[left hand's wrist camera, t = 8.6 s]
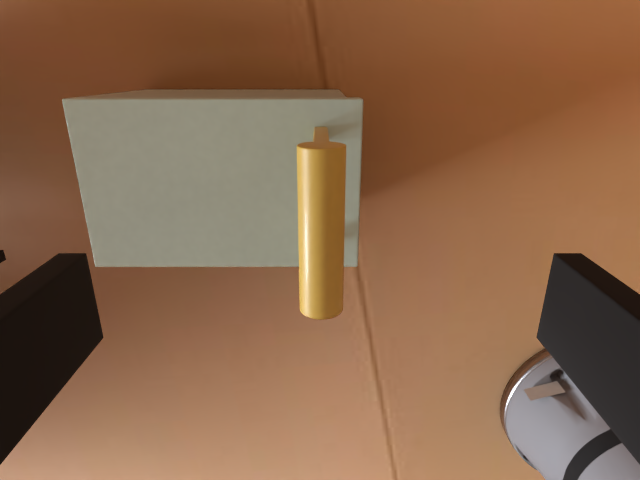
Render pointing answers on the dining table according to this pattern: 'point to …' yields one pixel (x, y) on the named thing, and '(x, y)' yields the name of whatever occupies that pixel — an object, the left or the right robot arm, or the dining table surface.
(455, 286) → the dining table surface
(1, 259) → the right robot arm
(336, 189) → the lid
